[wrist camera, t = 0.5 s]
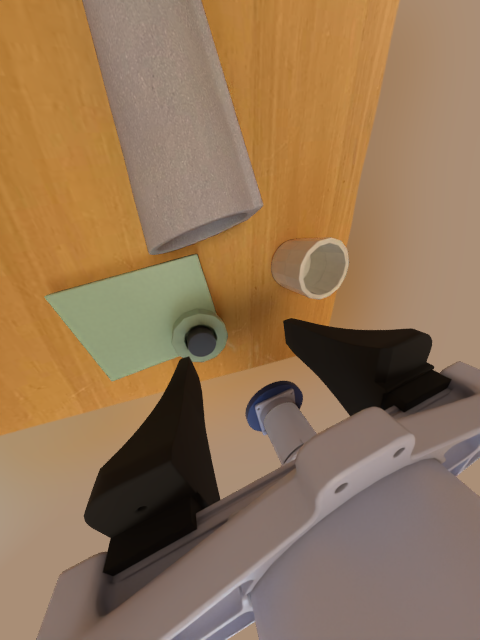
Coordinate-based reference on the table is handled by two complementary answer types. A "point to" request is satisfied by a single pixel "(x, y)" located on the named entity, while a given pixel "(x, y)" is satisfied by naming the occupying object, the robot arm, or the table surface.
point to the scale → (141, 316)
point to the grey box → (173, 119)
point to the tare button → (201, 341)
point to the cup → (311, 266)
